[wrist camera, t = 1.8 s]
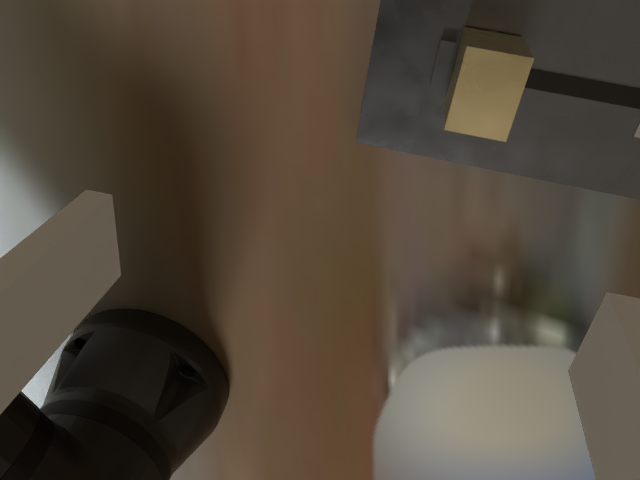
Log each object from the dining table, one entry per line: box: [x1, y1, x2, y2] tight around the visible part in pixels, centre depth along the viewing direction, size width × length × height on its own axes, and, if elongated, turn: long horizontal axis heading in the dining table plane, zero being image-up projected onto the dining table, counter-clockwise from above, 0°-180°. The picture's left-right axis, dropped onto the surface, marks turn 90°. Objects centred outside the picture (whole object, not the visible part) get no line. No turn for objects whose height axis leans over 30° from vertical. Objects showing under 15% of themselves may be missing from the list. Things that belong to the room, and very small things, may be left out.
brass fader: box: [444, 27, 534, 142], centre depth 27 cm, size 3×4×4 cm
